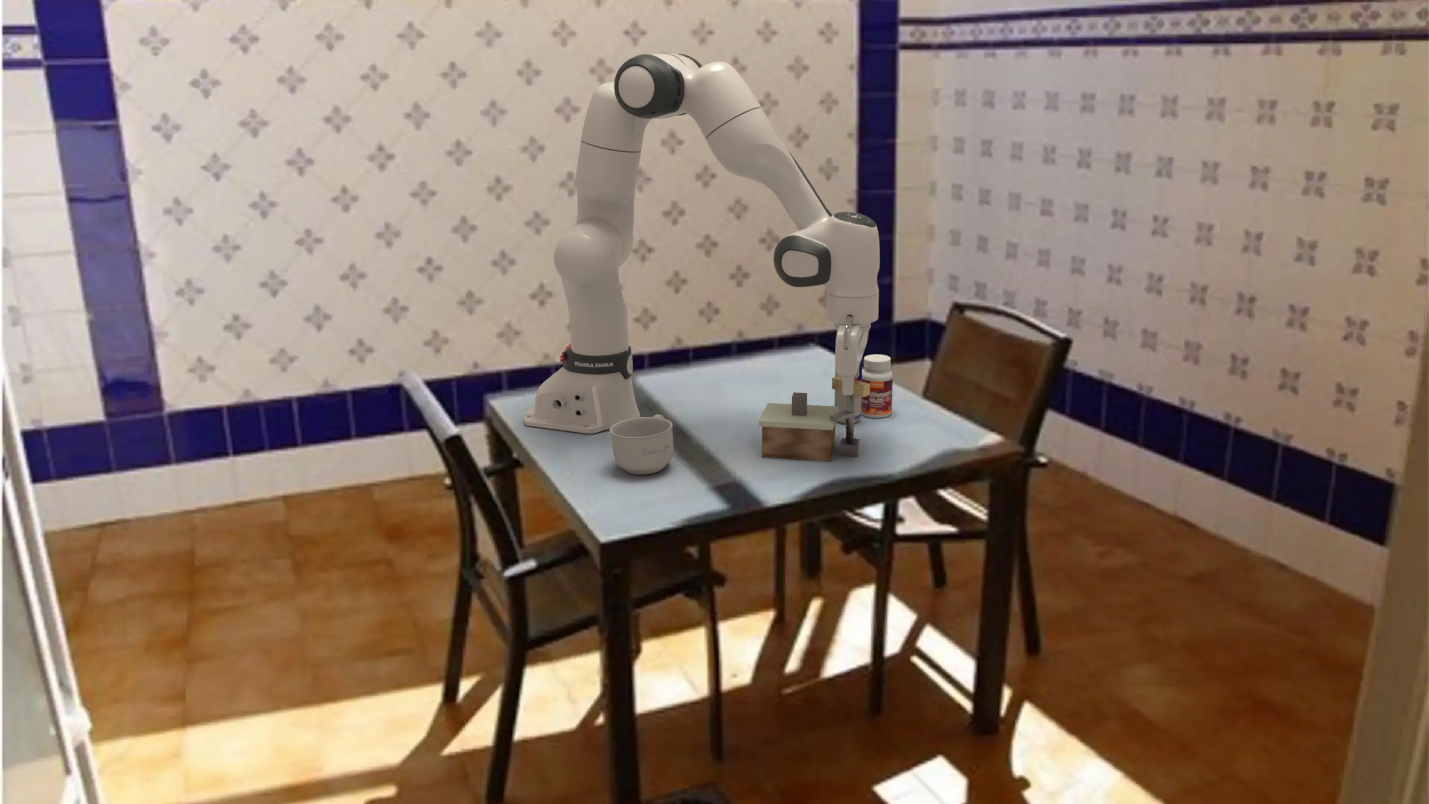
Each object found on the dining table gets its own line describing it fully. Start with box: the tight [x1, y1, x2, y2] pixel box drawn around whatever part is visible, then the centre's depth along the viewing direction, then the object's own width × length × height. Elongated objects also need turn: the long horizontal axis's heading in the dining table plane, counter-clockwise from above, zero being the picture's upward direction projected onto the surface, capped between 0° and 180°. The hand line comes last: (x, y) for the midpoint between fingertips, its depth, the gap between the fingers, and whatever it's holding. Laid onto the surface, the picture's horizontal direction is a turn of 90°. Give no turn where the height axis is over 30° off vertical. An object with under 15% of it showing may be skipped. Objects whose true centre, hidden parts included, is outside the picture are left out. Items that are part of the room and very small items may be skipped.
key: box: [830, 376, 870, 442], centre depth 208 cm, size 5×7×11 cm
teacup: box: [609, 413, 675, 476], centre depth 206 cm, size 14×11×8 cm
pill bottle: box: [861, 354, 894, 419], centre depth 230 cm, size 6×6×11 cm
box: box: [761, 421, 837, 462], centre depth 212 cm, size 12×9×6 cm
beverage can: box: [834, 356, 864, 425], centre depth 226 cm, size 5×5×15 cm
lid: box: [758, 392, 839, 430], centre depth 211 cm, size 13×10×5 cm
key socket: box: [839, 437, 860, 458], centre depth 211 cm, size 3×3×2 cm
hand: (850, 385), depth 207 cm, fingers open, 8 cm apart
